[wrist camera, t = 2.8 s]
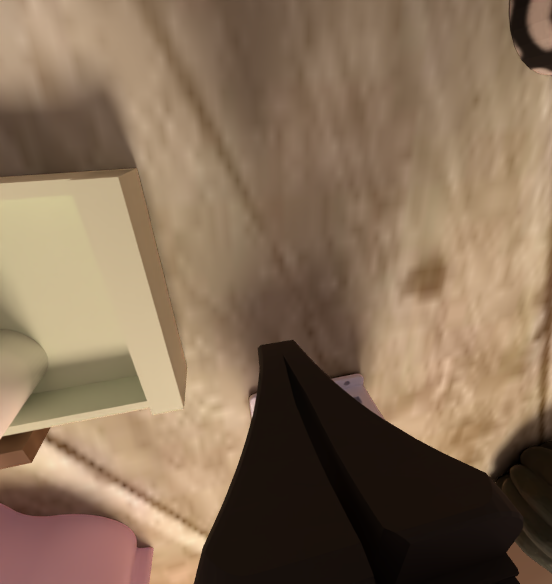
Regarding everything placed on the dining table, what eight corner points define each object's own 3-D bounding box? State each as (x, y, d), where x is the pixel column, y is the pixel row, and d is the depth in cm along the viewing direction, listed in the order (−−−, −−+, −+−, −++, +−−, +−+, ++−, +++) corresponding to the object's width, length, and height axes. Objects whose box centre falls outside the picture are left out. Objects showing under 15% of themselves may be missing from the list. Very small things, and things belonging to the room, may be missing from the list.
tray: (137, 167, 14) (117, 176, 11) (187, 367, 21) (183, 409, 17) (-191, 189, 12) (-325, 207, 9) (-25, 404, 18) (-71, 459, 15)
